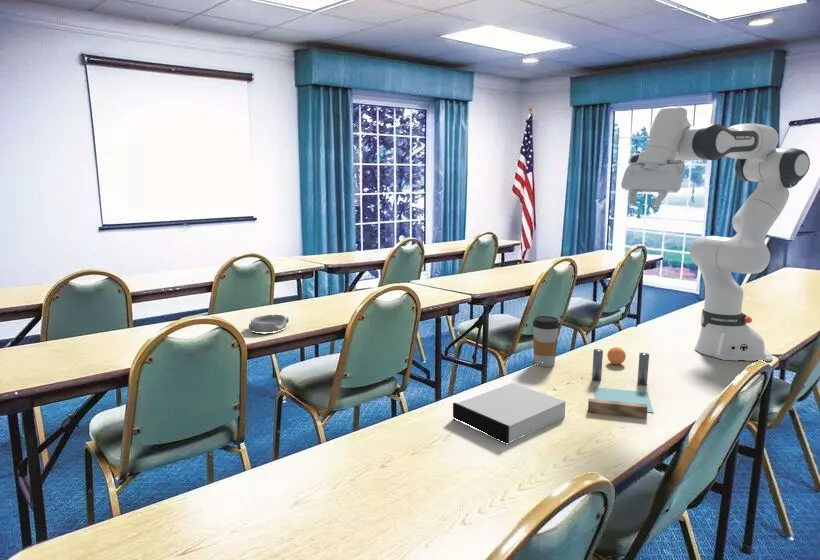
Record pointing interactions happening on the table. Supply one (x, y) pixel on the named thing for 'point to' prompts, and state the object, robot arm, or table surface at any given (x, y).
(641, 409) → the stopper wall
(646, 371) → the post
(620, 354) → the ball
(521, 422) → the disc drive
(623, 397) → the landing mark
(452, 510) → the table surface
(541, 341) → the coffee cup
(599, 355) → the post
